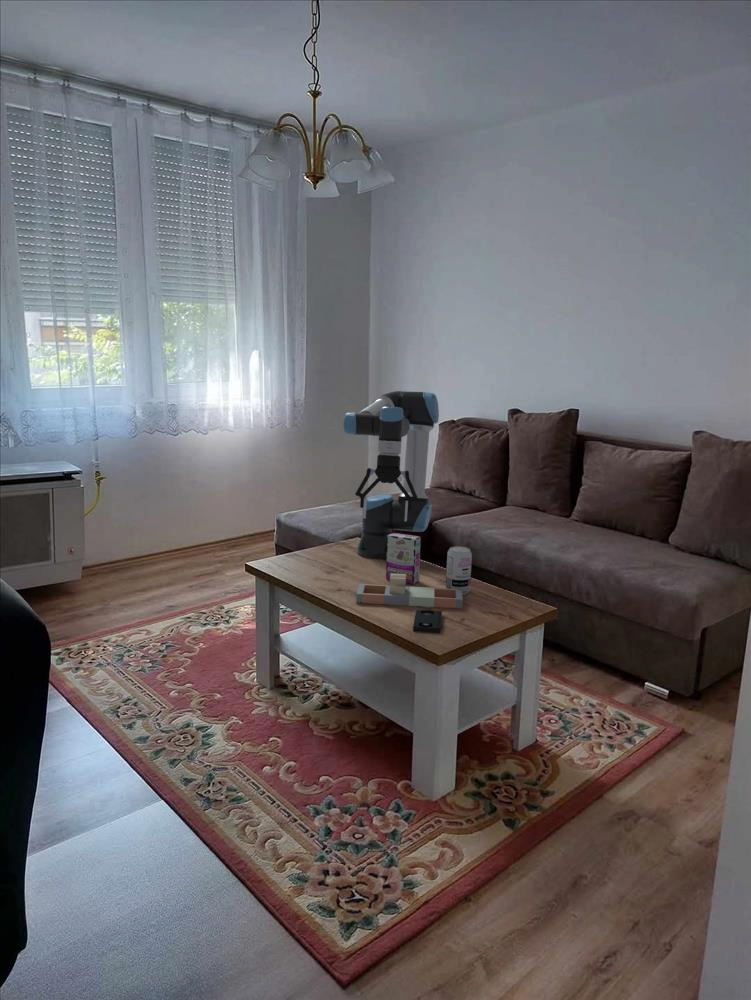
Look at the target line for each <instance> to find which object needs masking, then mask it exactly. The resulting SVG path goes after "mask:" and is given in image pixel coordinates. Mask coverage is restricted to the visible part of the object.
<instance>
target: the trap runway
mask: <svg viewBox="0 0 751 1000" xmlns="http://www.w3.org/2000/svg"><path fill="white" fill-rule="evenodd" d="M357 587H358V588H357V590H356V594H355V603H356V602H358V603H357V604H373V605H374V604H375V605H392V606H409V607H410V606H412V607H429V608H446V609H461V610H463V603H464V602H463V601H464V599H463V595H462V589H447V588H446V587H445V588H444V587H425V586H410V585H409V586H408V585H406V588H405V594H399V593H389V591H390V584H373V583H371V584H369V583H368V584H367V583H359V584H358V586H357ZM360 602H361V603H360Z"/></svg>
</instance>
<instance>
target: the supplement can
mask: <svg viewBox="0 0 751 1000" xmlns="http://www.w3.org/2000/svg"><path fill="white" fill-rule="evenodd" d="M446 555H447V557H446V576H445V588H447V589H462V596H464V595H467V594H468V593H469V592H470V590H471V576H472V574H471V573H472V561H473V559H472V557H473V553H472V551H471V549H470V548H468V547H467V546H458V545H457V546H451V547H449V549H448V550H447V554H446Z"/></svg>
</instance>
